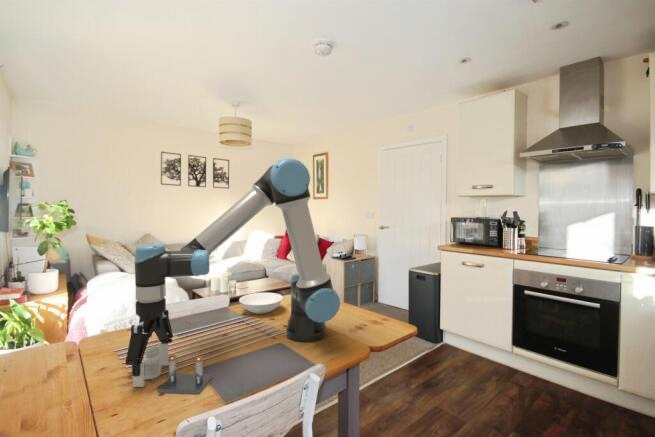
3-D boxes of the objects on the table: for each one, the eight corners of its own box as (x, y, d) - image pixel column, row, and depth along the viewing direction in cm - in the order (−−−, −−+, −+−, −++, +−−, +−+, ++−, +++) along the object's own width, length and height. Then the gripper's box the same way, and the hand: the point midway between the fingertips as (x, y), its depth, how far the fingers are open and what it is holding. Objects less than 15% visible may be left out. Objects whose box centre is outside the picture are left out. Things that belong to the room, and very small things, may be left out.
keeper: (212, 377, 91) (211, 351, 91) (198, 394, 83) (198, 365, 83) (174, 376, 92) (173, 350, 92) (157, 392, 84) (157, 363, 84)
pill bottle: (148, 372, 95) (147, 346, 94) (163, 371, 95) (163, 345, 95) (140, 380, 90) (140, 352, 90) (157, 379, 91) (156, 352, 90)
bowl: (262, 322, 135) (262, 307, 134) (229, 314, 145) (229, 300, 145) (292, 309, 151) (292, 296, 151) (260, 302, 162) (260, 290, 162)
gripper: (162, 288, 104) (162, 355, 104) (107, 312, 80) (109, 398, 81) (184, 288, 103) (185, 356, 104) (136, 313, 80) (137, 400, 81)
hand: (151, 374), depth 93 cm, fingers open, 11 cm apart
